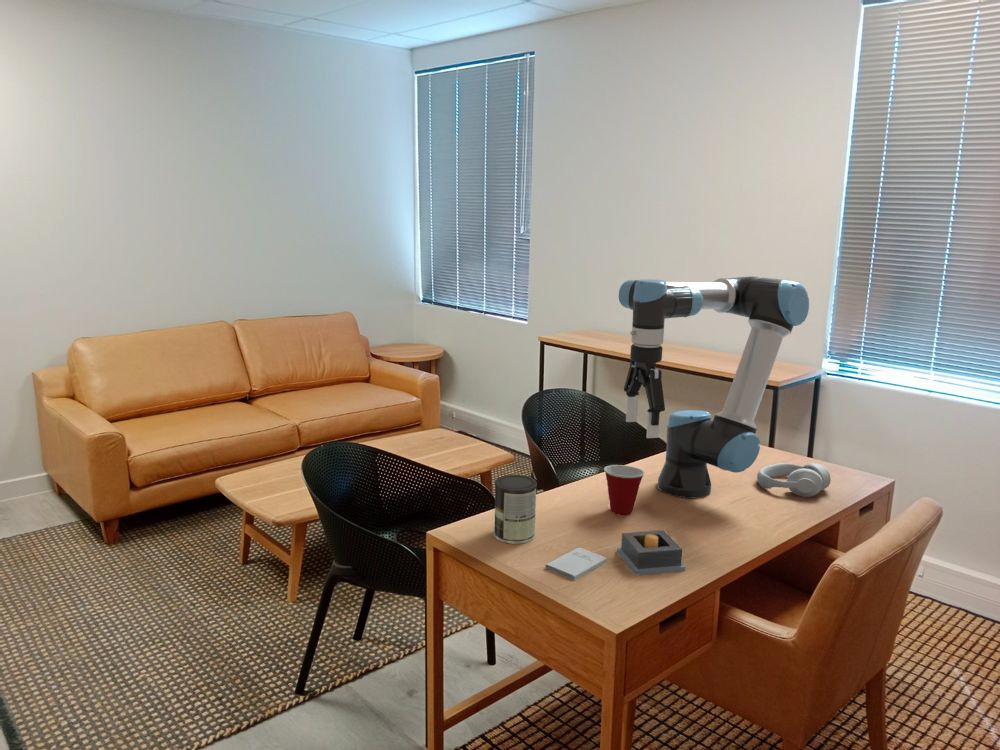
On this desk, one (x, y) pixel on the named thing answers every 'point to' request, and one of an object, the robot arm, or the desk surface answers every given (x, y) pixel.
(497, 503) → the coffee can
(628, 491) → the plastic cup
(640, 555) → the gray square socket block
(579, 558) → the external hard drive
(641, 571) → the keeper
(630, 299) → the robot arm
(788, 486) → the headphones
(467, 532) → the desk surface
